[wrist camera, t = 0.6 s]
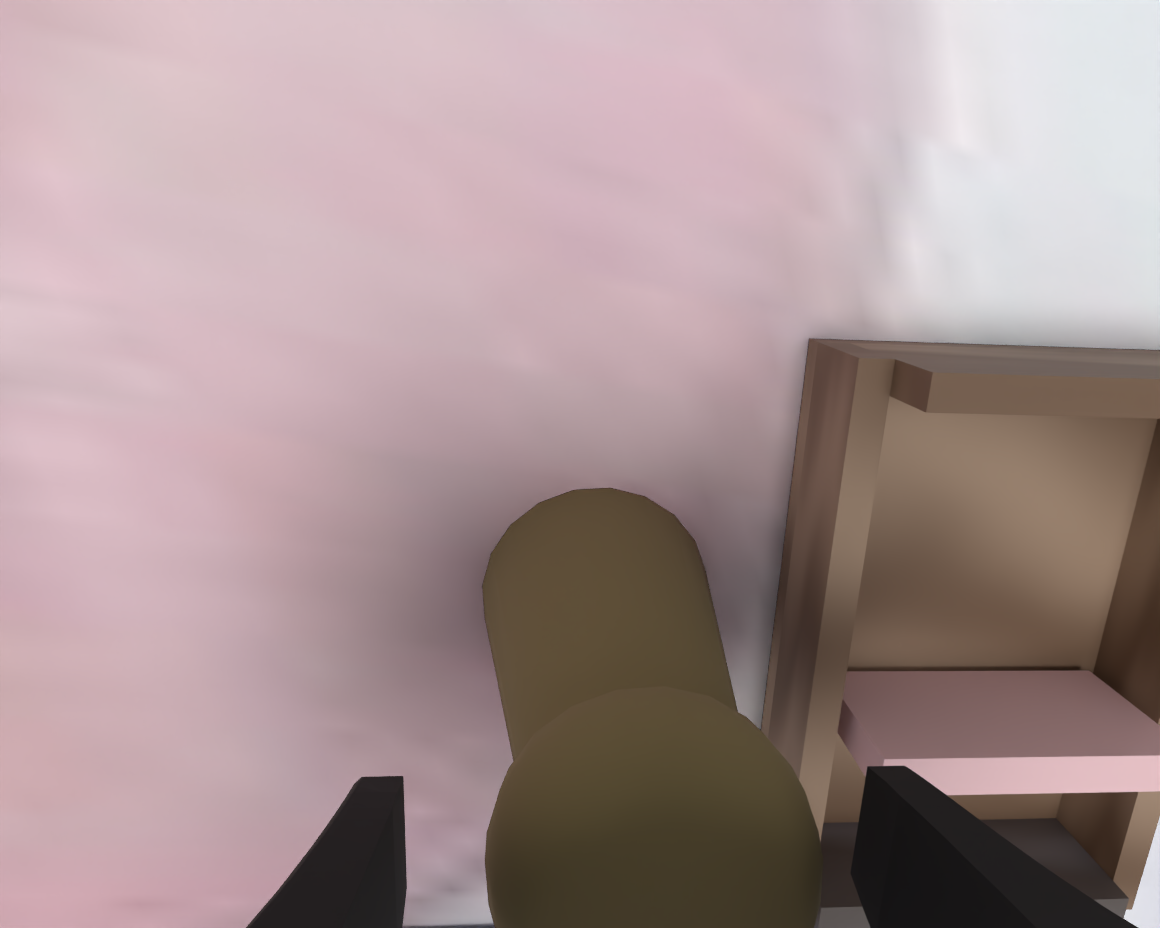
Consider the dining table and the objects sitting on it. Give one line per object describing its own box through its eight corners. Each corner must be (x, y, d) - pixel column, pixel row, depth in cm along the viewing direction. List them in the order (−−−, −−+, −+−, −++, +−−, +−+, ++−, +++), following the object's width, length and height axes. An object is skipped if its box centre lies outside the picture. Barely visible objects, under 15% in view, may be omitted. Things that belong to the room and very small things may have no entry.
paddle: (1080, 701, 22) (1186, 790, 19) (819, 703, 22) (877, 796, 18) (1089, 670, 22) (1197, 754, 19) (824, 671, 22) (884, 759, 18)
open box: (1060, 830, 25) (1177, 960, 21) (747, 837, 24) (799, 974, 20) (1184, 351, 21) (1364, 385, 16) (809, 338, 20) (893, 371, 15)
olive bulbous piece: (458, 514, 20) (396, 821, 10) (688, 465, 21) (869, 718, 10) (509, 713, 22) (503, 1152, 12) (721, 668, 22) (903, 1062, 12)
